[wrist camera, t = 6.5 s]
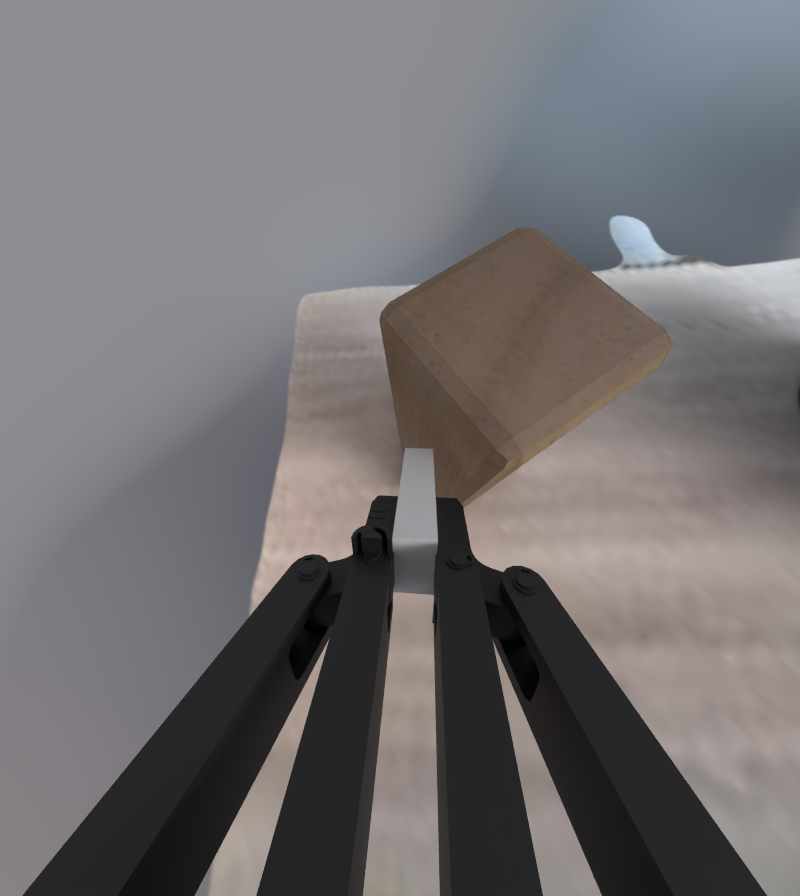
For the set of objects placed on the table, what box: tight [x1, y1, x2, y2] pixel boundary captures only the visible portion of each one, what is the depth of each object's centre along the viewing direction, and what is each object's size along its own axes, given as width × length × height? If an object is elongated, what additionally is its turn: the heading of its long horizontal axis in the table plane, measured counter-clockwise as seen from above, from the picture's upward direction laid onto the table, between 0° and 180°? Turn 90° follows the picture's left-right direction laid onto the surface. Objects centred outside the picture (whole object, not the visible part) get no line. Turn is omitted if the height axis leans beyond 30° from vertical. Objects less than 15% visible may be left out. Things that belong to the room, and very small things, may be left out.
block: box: [379, 227, 673, 508], centre depth 22 cm, size 10×10×20 cm
